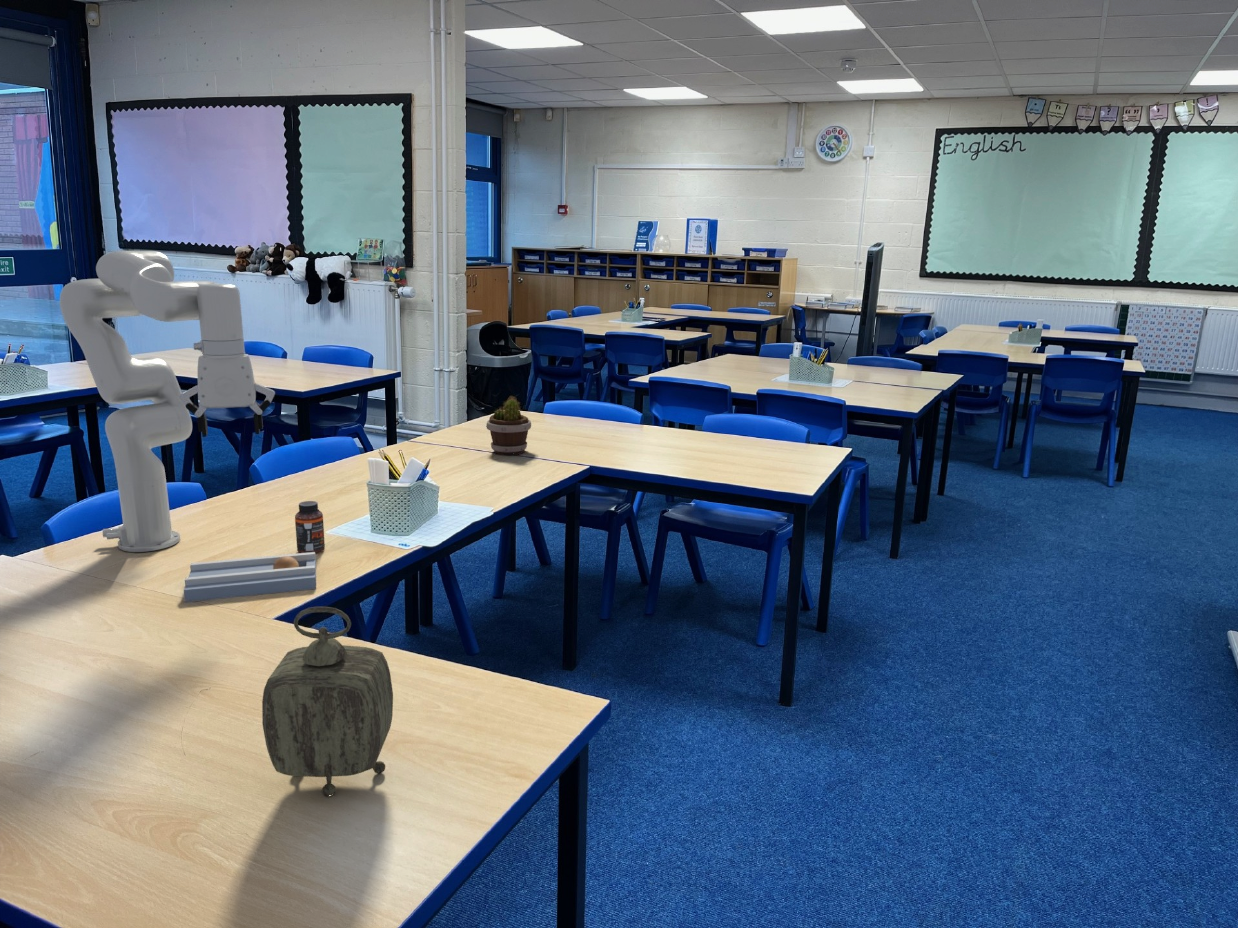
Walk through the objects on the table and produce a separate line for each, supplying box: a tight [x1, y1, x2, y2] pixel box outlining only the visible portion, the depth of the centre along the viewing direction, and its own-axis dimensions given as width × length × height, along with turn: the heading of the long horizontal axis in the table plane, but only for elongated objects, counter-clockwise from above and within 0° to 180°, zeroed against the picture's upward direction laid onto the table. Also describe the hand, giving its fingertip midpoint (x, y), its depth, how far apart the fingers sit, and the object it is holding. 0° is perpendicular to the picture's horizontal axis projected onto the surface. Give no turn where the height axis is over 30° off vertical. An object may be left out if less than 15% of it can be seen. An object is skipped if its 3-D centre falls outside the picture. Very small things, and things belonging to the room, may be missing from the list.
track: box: [183, 552, 317, 603], centre depth 178 cm, size 24×14×4 cm, turn 109°
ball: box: [273, 556, 299, 569], centre depth 180 cm, size 5×5×5 cm
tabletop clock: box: [261, 606, 394, 797], centre depth 110 cm, size 14×9×25 cm, turn 92°
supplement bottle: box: [294, 500, 326, 555], centre depth 196 cm, size 6×6×11 cm
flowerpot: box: [485, 395, 532, 456], centre depth 288 cm, size 14×15×20 cm
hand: (231, 434), depth 174 cm, fingers open, 9 cm apart
